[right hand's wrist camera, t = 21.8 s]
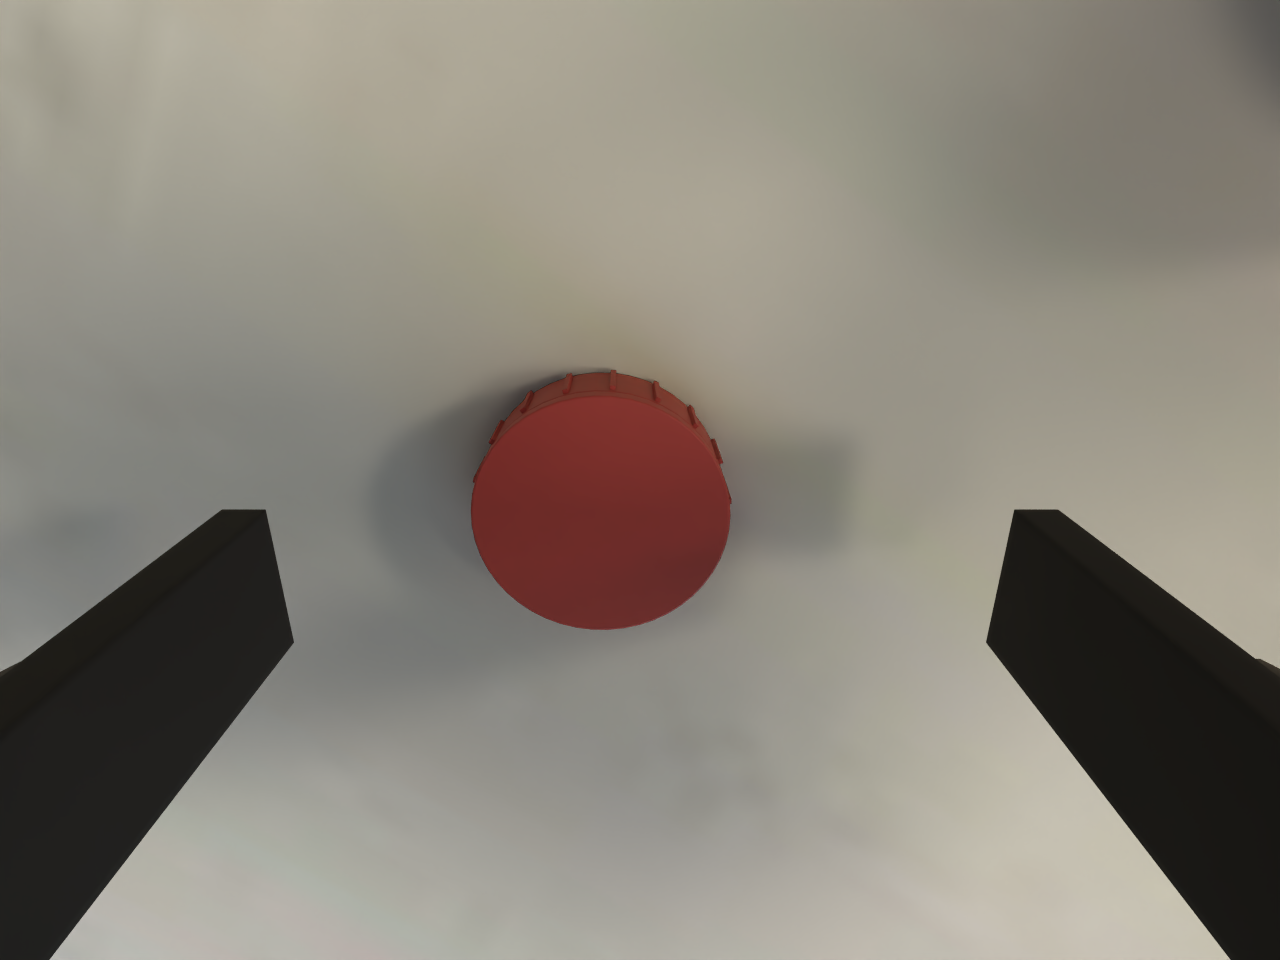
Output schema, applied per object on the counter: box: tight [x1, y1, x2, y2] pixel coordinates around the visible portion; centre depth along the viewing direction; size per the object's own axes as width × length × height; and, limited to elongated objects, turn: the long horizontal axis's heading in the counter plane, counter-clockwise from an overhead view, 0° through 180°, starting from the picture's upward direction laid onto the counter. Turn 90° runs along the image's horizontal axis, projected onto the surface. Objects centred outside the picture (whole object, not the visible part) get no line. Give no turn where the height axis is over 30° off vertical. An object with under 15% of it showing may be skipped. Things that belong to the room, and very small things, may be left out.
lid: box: [471, 370, 731, 630], centre depth 15 cm, size 5×5×2 cm
